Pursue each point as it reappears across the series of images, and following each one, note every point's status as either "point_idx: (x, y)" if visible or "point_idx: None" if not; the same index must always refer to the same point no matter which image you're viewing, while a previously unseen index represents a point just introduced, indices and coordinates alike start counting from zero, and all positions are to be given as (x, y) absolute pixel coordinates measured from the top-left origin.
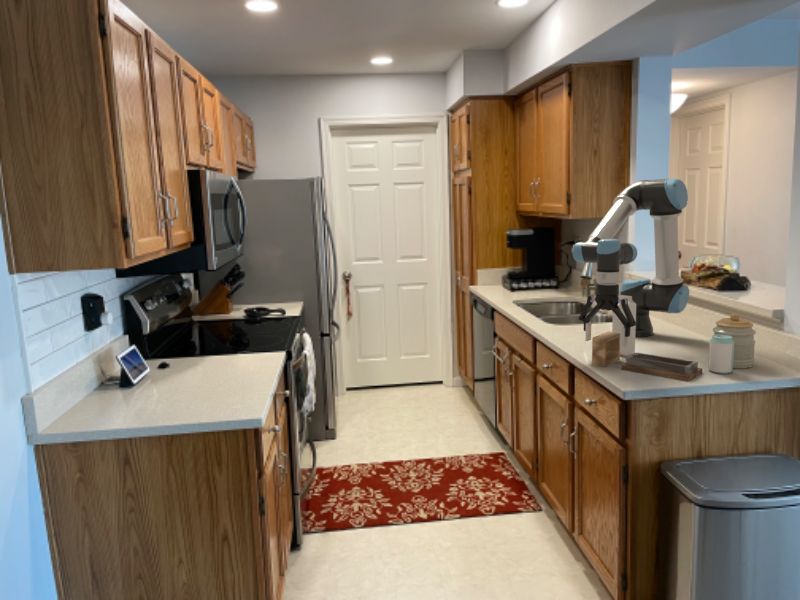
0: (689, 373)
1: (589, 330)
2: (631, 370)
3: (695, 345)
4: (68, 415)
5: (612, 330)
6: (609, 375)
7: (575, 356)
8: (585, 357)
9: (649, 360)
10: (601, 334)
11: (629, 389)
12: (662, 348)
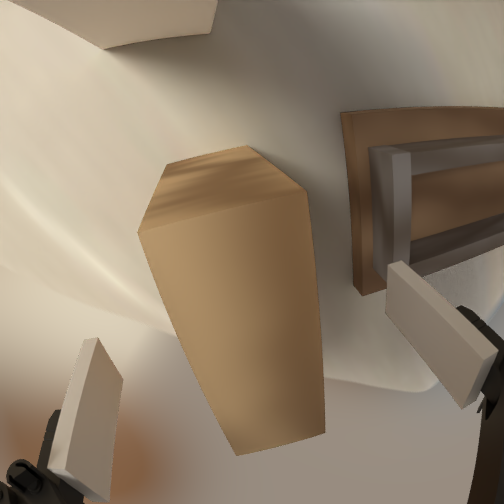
0: None
1: (97, 423)
2: None
3: None
4: None
5: (31, 10)
6: (353, 365)
7: (48, 282)
8: (85, 258)
9: (477, 250)
10: (203, 379)
11: (432, 385)
12: None
